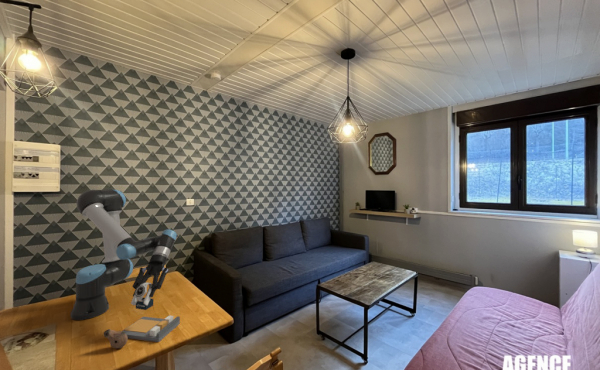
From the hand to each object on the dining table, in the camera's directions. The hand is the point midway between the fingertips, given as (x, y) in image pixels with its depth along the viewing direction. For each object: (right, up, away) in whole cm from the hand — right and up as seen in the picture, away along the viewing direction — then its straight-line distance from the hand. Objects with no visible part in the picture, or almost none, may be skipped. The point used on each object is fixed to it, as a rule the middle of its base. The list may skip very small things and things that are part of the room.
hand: (139, 304), depth 109 cm
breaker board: (+3, -14, +3) cm, 14 cm away
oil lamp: (-4, -14, -9) cm, 17 cm away
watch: (0, -3, +4) cm, 5 cm away
